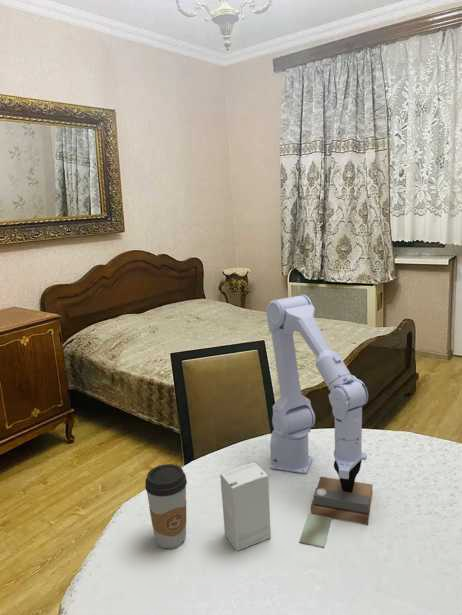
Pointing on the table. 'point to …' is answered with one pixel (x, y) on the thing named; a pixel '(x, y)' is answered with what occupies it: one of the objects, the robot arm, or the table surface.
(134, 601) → the table surface
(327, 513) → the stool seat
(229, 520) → the skincare box
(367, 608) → the table surface
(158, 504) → the coffee cup
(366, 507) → the gray rectangular bar
